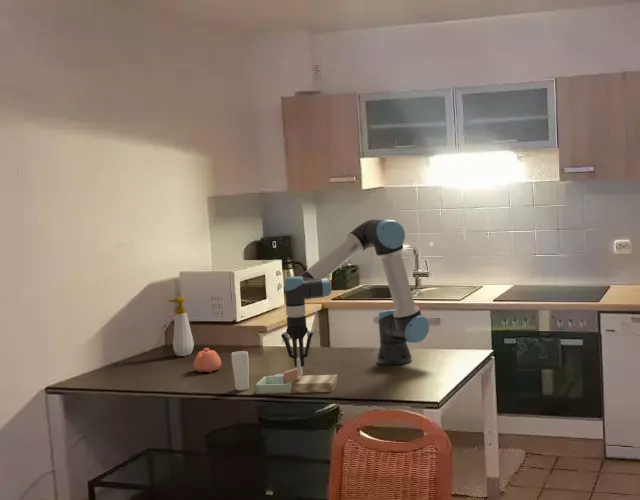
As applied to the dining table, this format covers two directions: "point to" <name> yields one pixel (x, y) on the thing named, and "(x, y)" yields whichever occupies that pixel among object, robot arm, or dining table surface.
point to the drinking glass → (241, 369)
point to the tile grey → (279, 379)
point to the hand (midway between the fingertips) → (300, 374)
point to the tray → (271, 386)
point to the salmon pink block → (291, 375)
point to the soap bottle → (182, 330)
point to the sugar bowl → (207, 361)
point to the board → (315, 383)
